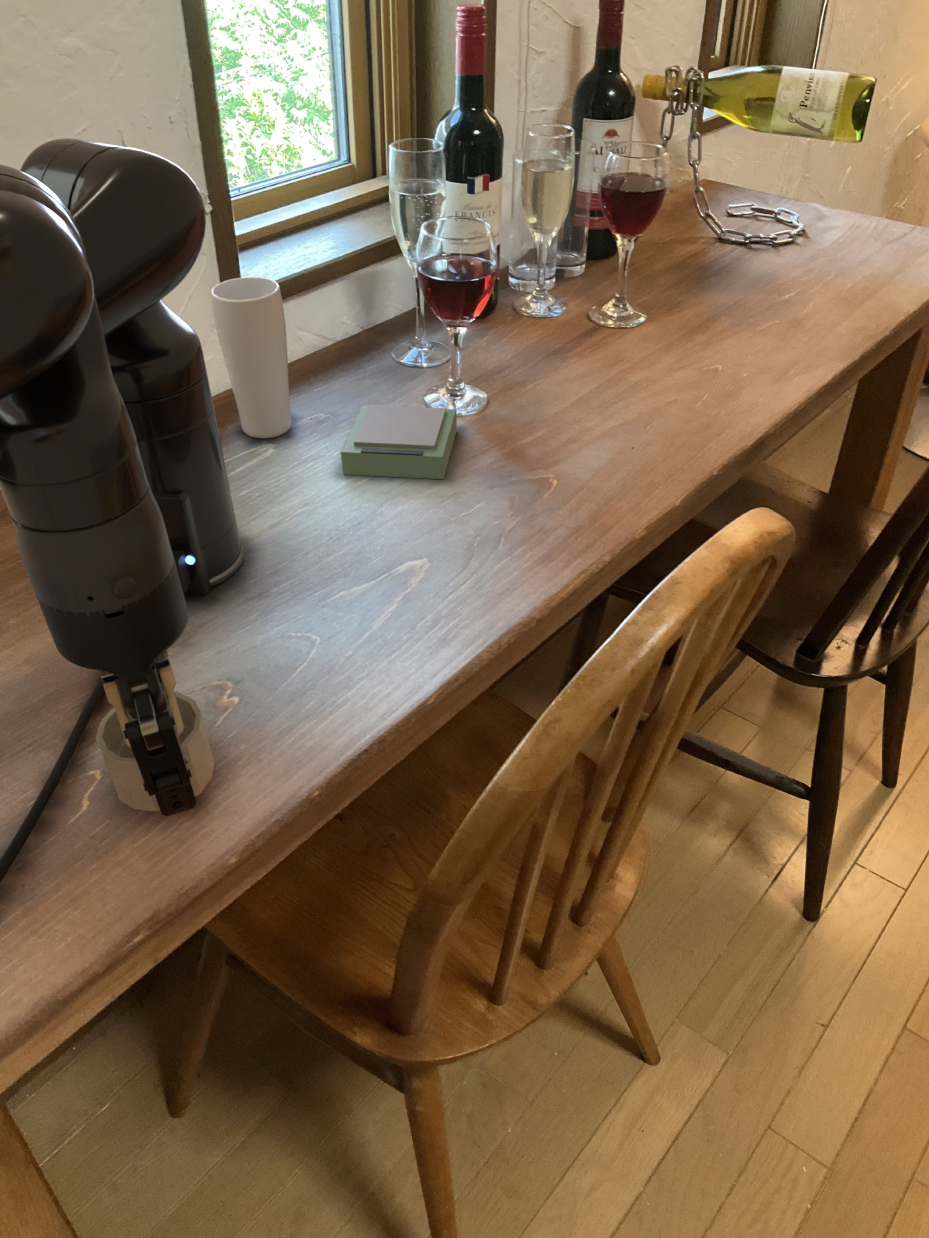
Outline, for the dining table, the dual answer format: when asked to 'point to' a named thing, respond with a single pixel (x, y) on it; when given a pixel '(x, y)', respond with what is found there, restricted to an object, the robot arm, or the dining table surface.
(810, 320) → the dining table surface
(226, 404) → the dining table surface
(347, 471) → the scale
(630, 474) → the dining table surface
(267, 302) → the drinking glass
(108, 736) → the beige cup
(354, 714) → the dining table surface
